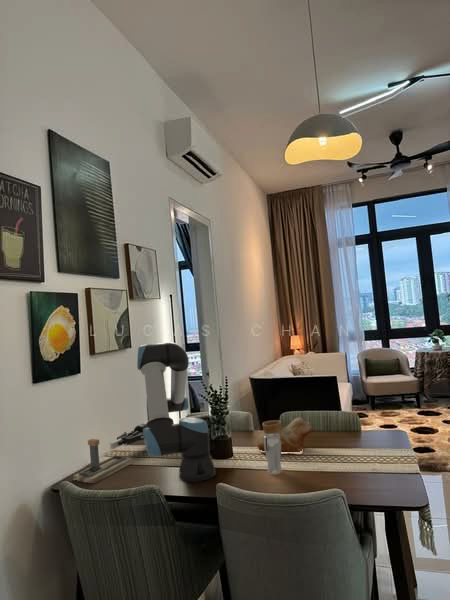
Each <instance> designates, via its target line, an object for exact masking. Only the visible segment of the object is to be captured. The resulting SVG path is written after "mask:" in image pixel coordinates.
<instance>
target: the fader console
mask: <svg viewBox="0 0 450 600" xmlns="http://www.w3.org/2000/svg"><path fill="white" fill-rule="evenodd" d="M132 464H133V461H132V458H127V456H124V455H122V456H121V455H116V454H115V455H112V456H110V457H109V458H106V459H104V460H102V461H99V466H100V467H101V469H100V470H98V471H96V472H95V471H89V468H90V467H88V468H86V469H84V470H82V471H78V472H77V473H75V474H73V475H72V479H73V481H75V480H77V481H76V482H81V481H82V483H87V482H88V484H93V483H94V484H96V483H98V482H100V481H101V480H103V479H106V478H107V477H109V476H111V475H113V474H114V473H116V472H118V471H120V470H122V469H124V468H125V467H128V466H129V465H132Z"/></svg>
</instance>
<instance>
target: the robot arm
mask: <svg viewBox="0 0 450 600" xmlns="http://www.w3.org/2000/svg"><path fill="white" fill-rule="evenodd" d="M189 361H190V359H189V356H188V354H187V351H186V350H185V349H184V348H183V347H182V346H181V345H179V344H178V343H175V342H171V341H169V342H161V343H160V342H159V343H146V344H141V345H139V346H138V349H137V363H136V365H137V367H136V368H137V370H139V371H140V373H141V374H142V375H143V376H144V381H145V393H146V415H147V416H146V417H147V421H145V422H143V423H140V424H139V425H137V426H135V427H134V429H133V430H131V431H129V432H127V431H124V432H123V433H122V434H120V435H119V436H117V437H116V440H114V441H111V442H110V449H111V450H114V449H116V448H119V447H120V446H122V445H126V444H127V445H131V444H133V443H135V442H139V441H144V445H145V450H146V454H147V455H148V456H149V457H154V458H155V457H162V456H168V455H174V454H175V455H176V454H181V461H180V465H179V471H178V472H179V473H178V474H179V479H180V480H181V481H184V482H186V483H187V482H188V483H200V482H203V481H204V480H205V481H208V480H210V479H212V478H213V477H215V476H216V467H215V465H214V461H213V460H212V457H211V453H210V440H209V428H208V427H209V426H208V422H207V421H206V420H204V419H202V418H199V417H184V418H180V420H179V423H174V420H173V418H171V417H170V415H169V413H177V412H183V411H187V410H188V409H189V399H188V398H189V397H188V396H185V395H186V382H187V381H186V379H187V369H188V368H189V364H190V363H189ZM167 368H169V369H170V375H171V376H170V397H169V398H168V397H167V390H166V383H165V375H164V374H165V372H166V370H167ZM199 481H200V482H199Z"/></svg>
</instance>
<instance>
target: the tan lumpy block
mask: <svg viewBox="0 0 450 600" xmlns="http://www.w3.org/2000/svg"><path fill="white" fill-rule="evenodd" d="M312 429H313V426H312V424H311V422H309V421H305V420H304V419H303V417H300V416H298V417H296V418H294V419H293V420H292V421H291V422H290V423H289V424H287V425H286V426H283V423H282V421H281V420H279V419H278V420H276V419H275V420H267V421H263V422H262V430H263V432H262V433H261V434H260V435H259V436H258V438H257V441H256V442H257V448H258V450H259V451H260V450H262V451H265V448H264V436H265V435H266V434H272V433H274V434H279V435H280V439H281V452H300V451H302V449H303V448H304V441H305V437H306V436H308V435H309V434H311V432H312Z"/></svg>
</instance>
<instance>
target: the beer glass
mask: <svg viewBox="0 0 450 600" xmlns="http://www.w3.org/2000/svg"><path fill="white" fill-rule="evenodd" d="M264 448H265V453H264V454H265V458H266V462H267V471H268V472H270V473H278V472H280V471H282V472H283V469H282V465H281V464H282V463H281V461H282V455H281V439H280V435H279V434H274V433H272V434H266V435H265V436H264Z"/></svg>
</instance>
